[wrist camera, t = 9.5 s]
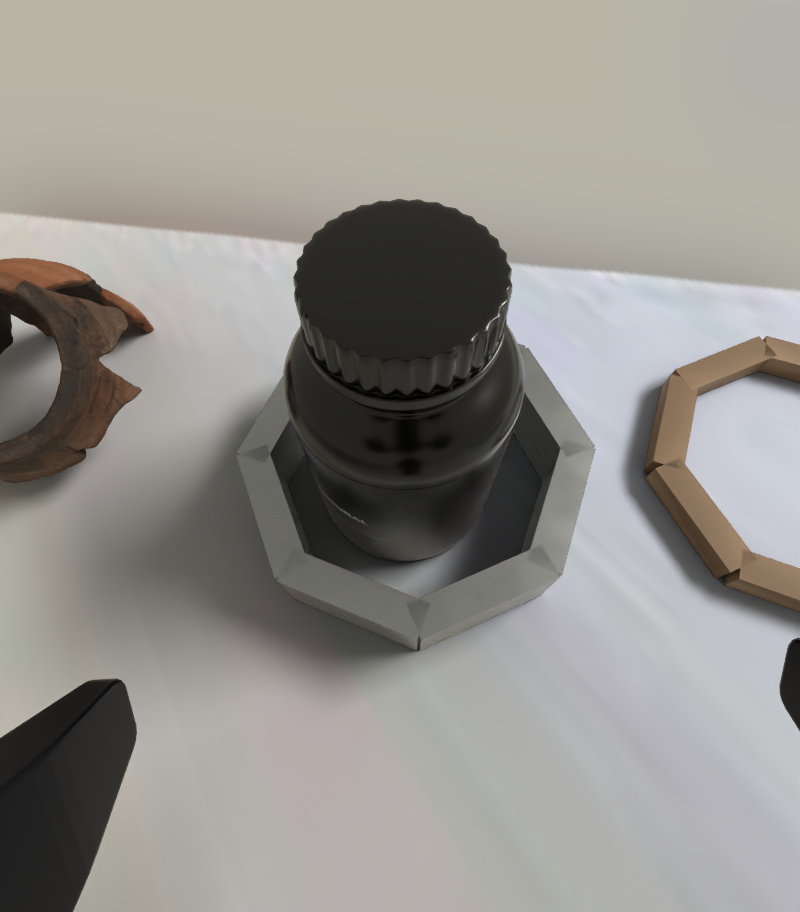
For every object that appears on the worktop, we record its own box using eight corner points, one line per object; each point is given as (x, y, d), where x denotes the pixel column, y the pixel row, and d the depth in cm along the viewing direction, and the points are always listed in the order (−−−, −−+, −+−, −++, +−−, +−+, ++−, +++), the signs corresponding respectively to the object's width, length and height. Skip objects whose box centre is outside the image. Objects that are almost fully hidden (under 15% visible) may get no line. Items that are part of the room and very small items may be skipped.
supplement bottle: (305, 548, 21) (187, 369, 10) (348, 406, 24) (293, 151, 13) (475, 583, 20) (545, 429, 9) (497, 432, 23) (571, 182, 12)
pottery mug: (217, 335, 26) (142, 296, 18) (146, 501, 27) (41, 537, 19) (-6, 233, 26) (-188, 146, 18) (-76, 406, 26) (-285, 399, 18)
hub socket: (325, 694, 18) (309, 690, 16) (235, 418, 23) (212, 381, 21) (622, 557, 20) (654, 534, 18) (478, 331, 25) (486, 286, 23)
